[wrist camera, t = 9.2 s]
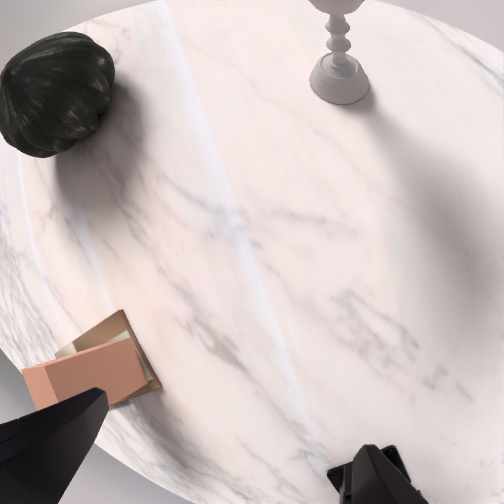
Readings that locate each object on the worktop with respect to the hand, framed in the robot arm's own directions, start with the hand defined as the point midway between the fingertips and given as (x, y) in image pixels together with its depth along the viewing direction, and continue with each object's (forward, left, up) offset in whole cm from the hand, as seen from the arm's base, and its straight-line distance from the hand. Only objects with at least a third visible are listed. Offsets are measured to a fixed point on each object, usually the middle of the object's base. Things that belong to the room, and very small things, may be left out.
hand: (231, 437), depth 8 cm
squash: (+32, +9, -13) cm, 36 cm away
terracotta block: (+4, +15, -12) cm, 20 cm away
